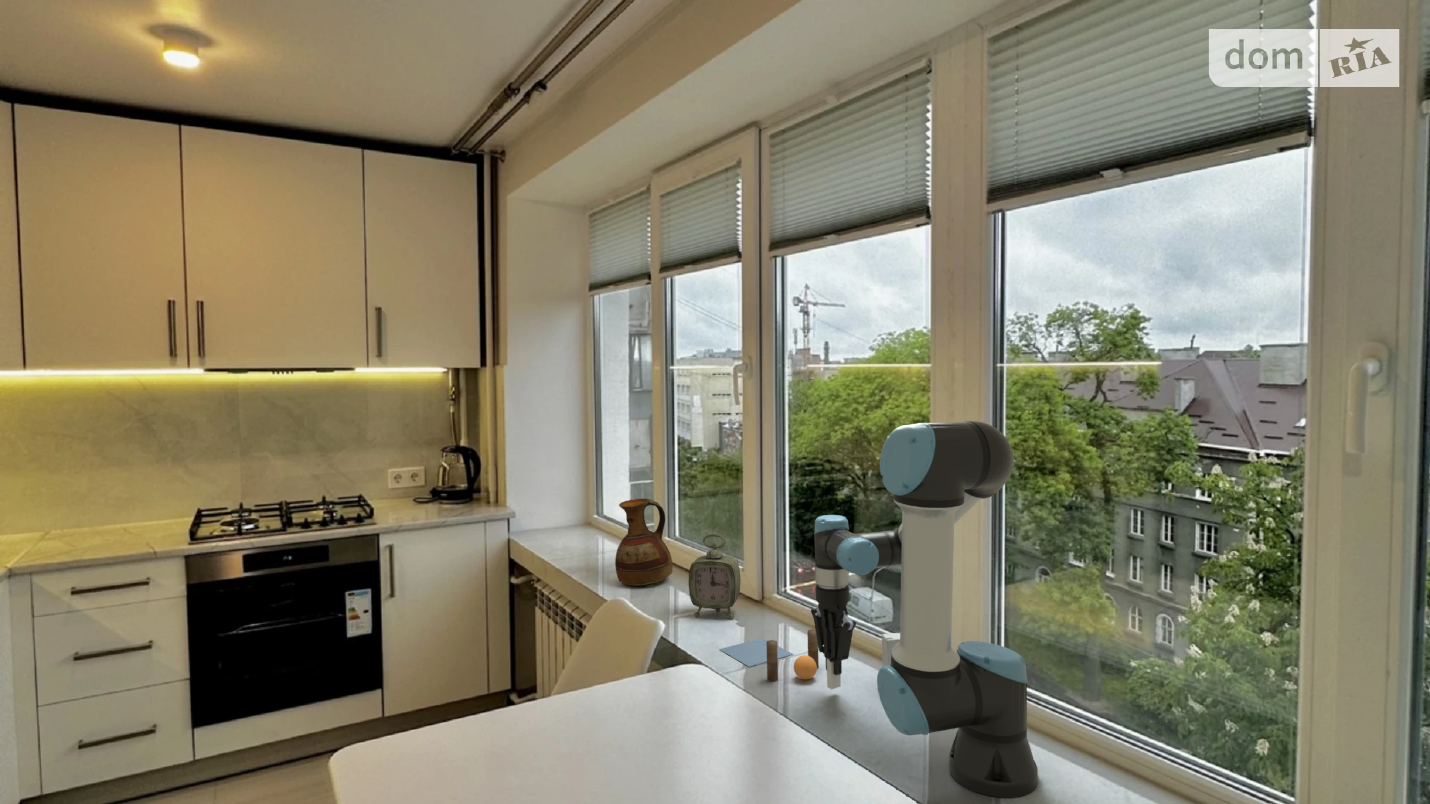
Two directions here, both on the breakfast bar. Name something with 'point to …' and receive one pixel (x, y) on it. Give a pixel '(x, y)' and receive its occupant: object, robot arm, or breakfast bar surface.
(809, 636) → the right post
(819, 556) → the robot arm
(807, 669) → the ball
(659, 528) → the ceramic pitcher
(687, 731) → the breakfast bar surface
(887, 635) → the skincare box
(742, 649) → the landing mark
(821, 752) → the breakfast bar surface
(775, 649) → the left post
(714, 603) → the tabletop clock
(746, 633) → the breakfast bar surface
